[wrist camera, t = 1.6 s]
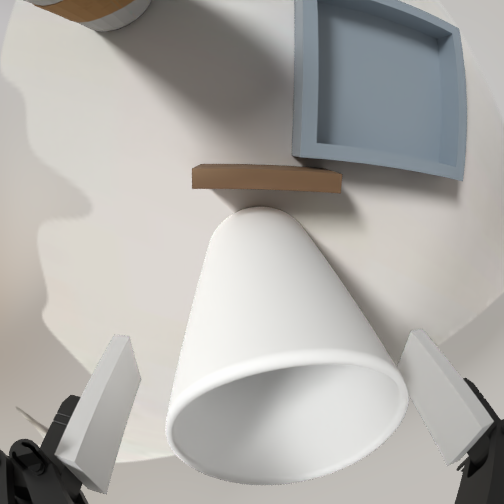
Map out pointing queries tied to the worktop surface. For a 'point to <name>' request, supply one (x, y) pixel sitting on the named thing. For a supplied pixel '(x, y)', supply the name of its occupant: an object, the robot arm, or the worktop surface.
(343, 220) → the worktop surface
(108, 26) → the coffee cup
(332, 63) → the tray
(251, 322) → the cup
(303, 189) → the clip rails
